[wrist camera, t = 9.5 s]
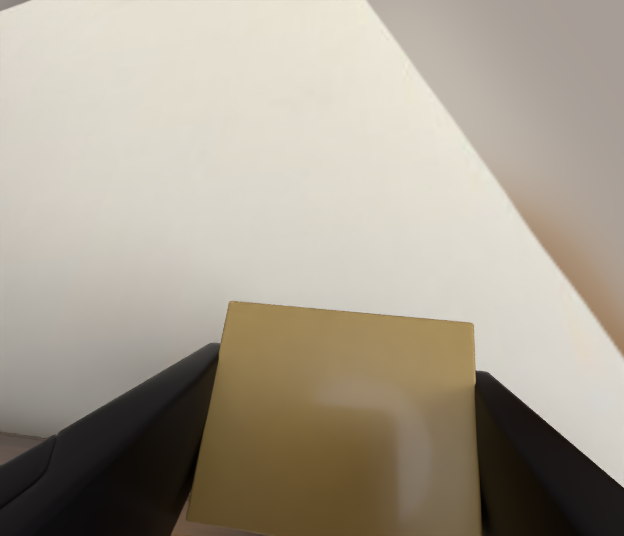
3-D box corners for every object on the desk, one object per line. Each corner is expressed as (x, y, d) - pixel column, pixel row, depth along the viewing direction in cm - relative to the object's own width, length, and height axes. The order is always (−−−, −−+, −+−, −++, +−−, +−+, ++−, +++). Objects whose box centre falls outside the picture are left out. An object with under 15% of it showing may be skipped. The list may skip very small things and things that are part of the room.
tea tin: (407, 481, 13) (484, 572, 6) (270, 461, 14) (183, 521, 6) (409, 365, 15) (474, 322, 7) (285, 352, 15) (228, 299, 8)
